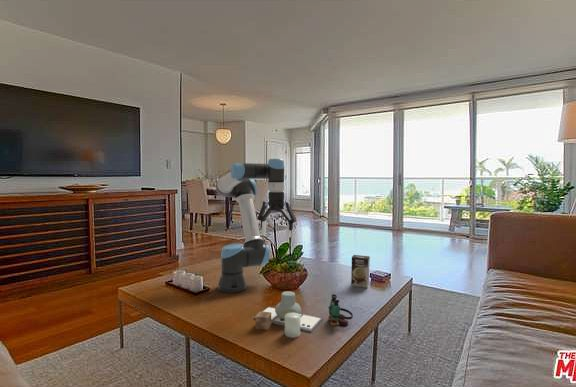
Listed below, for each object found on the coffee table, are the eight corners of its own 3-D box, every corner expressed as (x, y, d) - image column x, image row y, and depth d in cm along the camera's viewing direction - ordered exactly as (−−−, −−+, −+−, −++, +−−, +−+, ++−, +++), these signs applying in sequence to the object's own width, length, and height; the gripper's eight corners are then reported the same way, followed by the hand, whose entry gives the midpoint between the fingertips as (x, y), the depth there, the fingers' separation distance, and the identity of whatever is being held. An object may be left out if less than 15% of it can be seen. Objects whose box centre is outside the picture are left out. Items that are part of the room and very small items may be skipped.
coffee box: (350, 286, 176) (351, 257, 175) (353, 282, 182) (353, 254, 181) (367, 288, 173) (368, 258, 172) (369, 284, 179) (369, 255, 178)
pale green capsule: (281, 335, 122) (281, 317, 121) (289, 328, 127) (289, 311, 127) (296, 339, 119) (296, 320, 119) (302, 332, 124) (303, 314, 124)
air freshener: (300, 312, 139) (300, 290, 139) (301, 321, 131) (302, 296, 131) (275, 312, 139) (275, 290, 139) (275, 321, 131) (275, 296, 130)
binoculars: (356, 302, 128) (332, 300, 128) (353, 328, 129) (329, 326, 128) (350, 294, 137) (327, 292, 137) (347, 318, 138) (324, 316, 137)
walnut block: (255, 328, 127) (255, 316, 127) (259, 323, 132) (259, 311, 132) (267, 330, 126) (267, 317, 126) (271, 324, 131) (271, 312, 131)
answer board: (254, 318, 136) (254, 316, 136) (268, 308, 146) (268, 305, 146) (311, 332, 124) (311, 329, 124) (322, 320, 134) (322, 317, 134)
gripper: (249, 191, 154) (250, 235, 155) (296, 192, 143) (296, 239, 144) (258, 190, 161) (258, 232, 162) (303, 191, 150) (303, 236, 151)
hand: (276, 236), depth 153 cm, fingers open, 13 cm apart
